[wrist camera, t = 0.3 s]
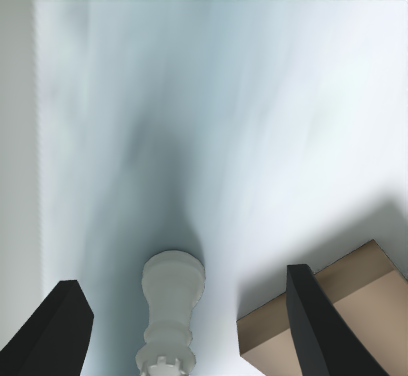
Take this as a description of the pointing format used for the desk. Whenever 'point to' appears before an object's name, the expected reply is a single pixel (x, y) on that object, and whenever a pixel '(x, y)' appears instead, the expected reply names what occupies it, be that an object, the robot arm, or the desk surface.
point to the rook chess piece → (170, 313)
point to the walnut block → (348, 309)
